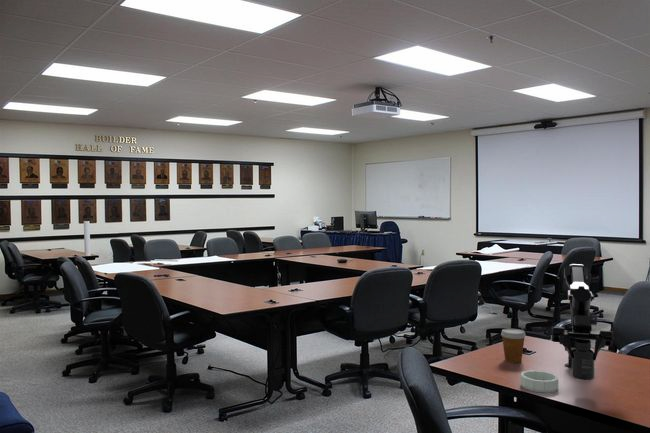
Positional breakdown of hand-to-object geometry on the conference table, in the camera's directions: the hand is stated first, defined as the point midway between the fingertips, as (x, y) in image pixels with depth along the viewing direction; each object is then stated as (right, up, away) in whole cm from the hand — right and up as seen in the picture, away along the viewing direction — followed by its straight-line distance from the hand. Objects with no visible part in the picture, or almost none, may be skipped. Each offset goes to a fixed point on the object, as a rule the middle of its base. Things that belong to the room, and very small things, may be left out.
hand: (583, 358), depth 175 cm
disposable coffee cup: (-8, -12, +41) cm, 44 cm away
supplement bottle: (+1, -7, +1) cm, 7 cm away
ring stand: (-11, -12, +9) cm, 19 cm away
